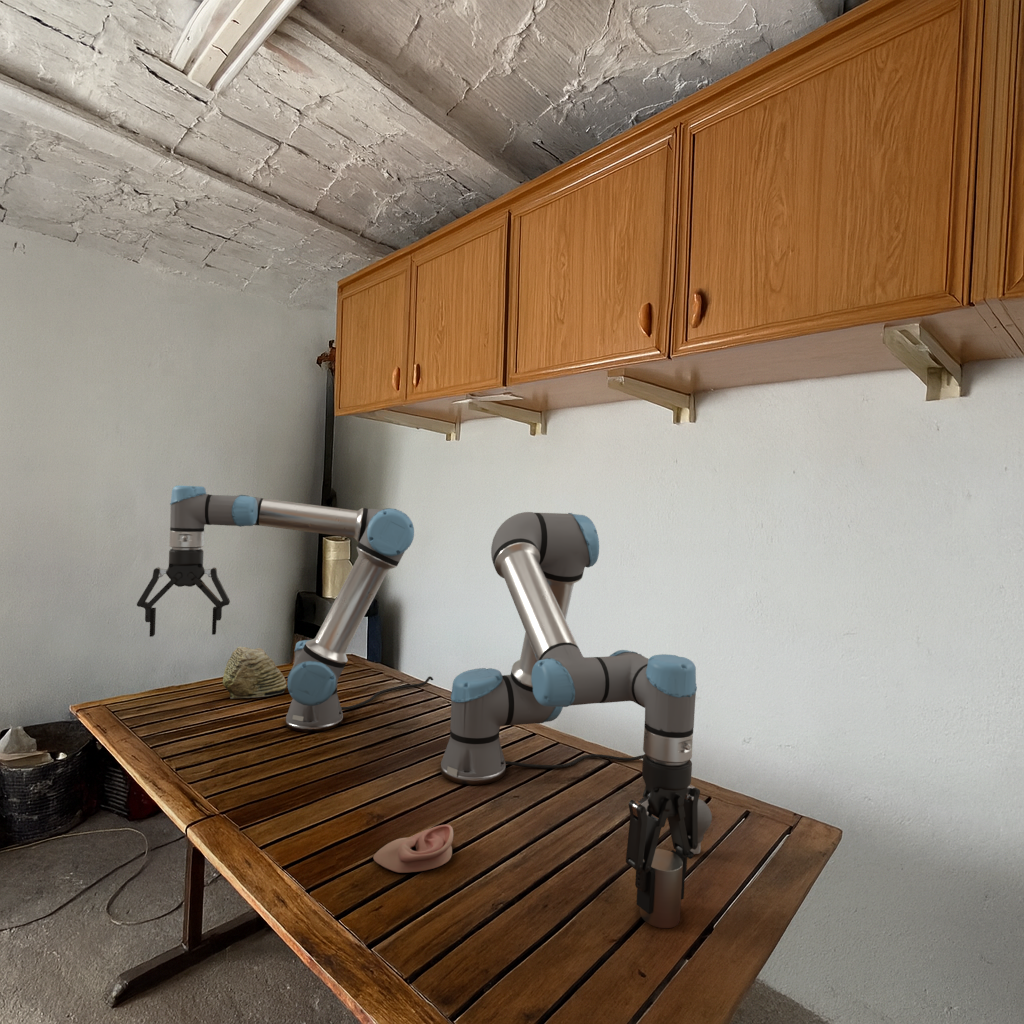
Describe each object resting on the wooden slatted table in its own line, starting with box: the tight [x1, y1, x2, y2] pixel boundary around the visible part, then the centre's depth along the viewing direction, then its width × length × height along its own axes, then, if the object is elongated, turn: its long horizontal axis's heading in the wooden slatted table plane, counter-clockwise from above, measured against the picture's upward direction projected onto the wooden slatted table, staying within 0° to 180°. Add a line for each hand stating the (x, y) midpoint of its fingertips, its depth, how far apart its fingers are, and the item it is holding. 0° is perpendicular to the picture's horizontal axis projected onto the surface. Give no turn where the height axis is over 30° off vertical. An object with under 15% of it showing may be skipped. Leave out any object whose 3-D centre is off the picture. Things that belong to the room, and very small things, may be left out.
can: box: [639, 848, 683, 929], centre depth 100 cm, size 6×6×9 cm
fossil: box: [222, 646, 288, 699], centre depth 198 cm, size 9×18×15 cm, turn 132°
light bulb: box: [688, 798, 713, 855], centre depth 118 cm, size 6×6×10 cm
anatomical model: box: [372, 824, 455, 874], centre depth 113 cm, size 13×4×12 cm
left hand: (183, 634), depth 156 cm, fingers open, 13 cm apart
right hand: (660, 901), depth 100 cm, fingers closed on can, 6 cm apart
